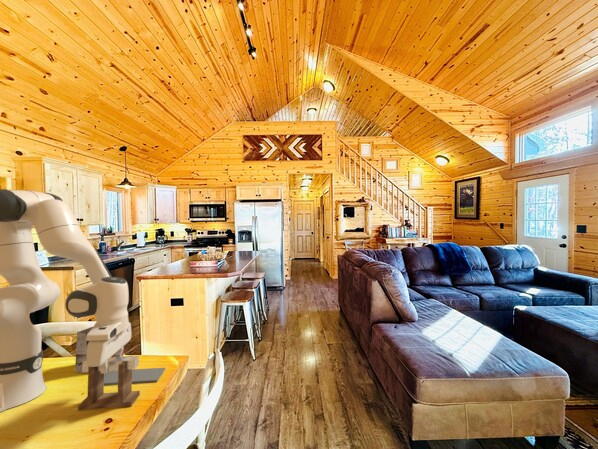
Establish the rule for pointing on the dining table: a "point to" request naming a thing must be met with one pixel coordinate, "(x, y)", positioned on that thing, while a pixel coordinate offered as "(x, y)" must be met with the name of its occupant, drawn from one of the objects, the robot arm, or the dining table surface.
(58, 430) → the dining table surface
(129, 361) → the beige wooden bar
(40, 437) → the dining table surface
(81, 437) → the dining table surface
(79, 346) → the coffee box
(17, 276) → the robot arm
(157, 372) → the rubber mat
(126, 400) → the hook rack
